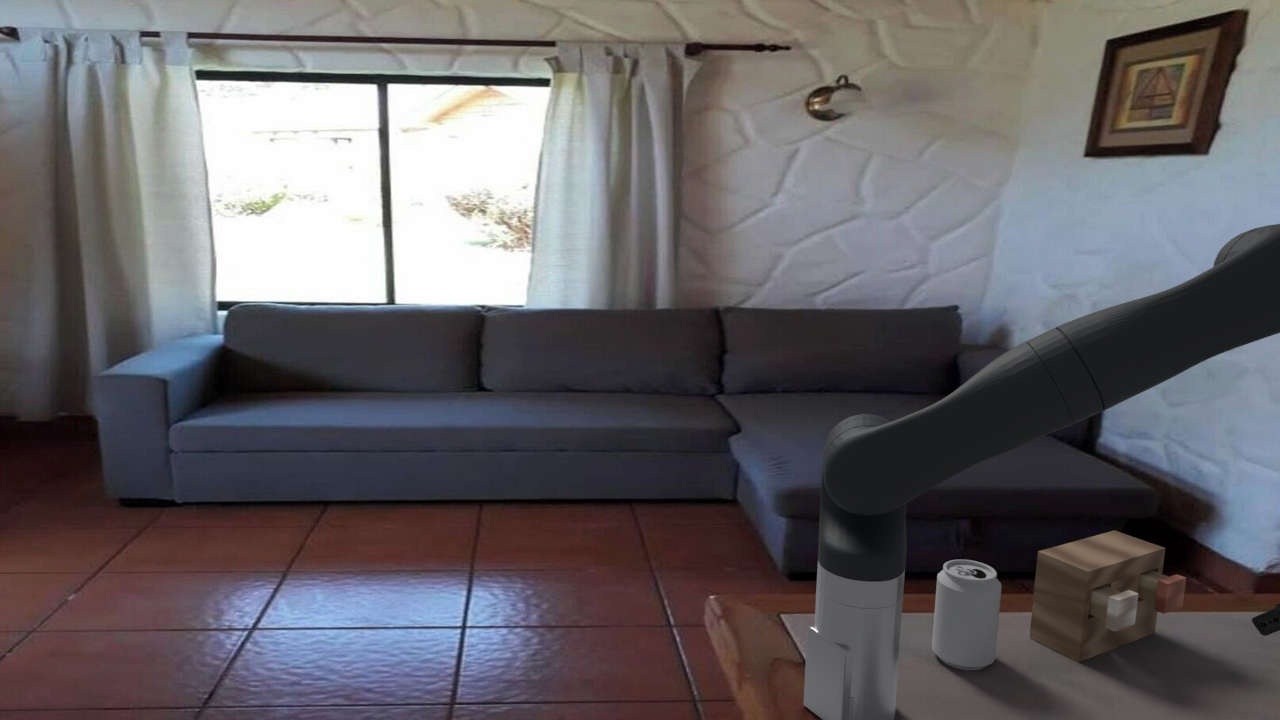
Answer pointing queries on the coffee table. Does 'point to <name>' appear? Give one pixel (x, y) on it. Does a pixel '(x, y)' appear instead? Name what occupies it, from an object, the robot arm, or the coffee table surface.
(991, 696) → the coffee table surface
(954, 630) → the can
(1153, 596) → the key red
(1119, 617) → the key cream
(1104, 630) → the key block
